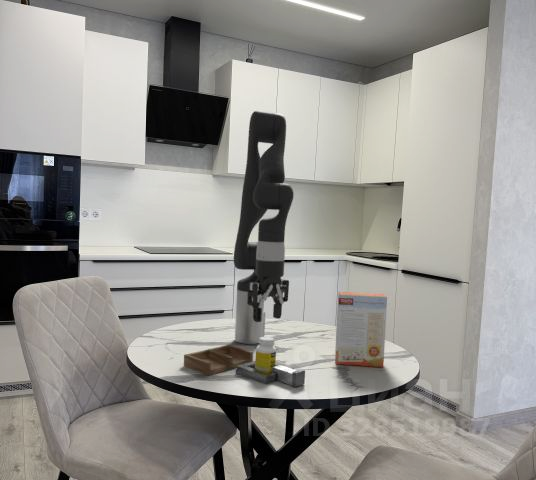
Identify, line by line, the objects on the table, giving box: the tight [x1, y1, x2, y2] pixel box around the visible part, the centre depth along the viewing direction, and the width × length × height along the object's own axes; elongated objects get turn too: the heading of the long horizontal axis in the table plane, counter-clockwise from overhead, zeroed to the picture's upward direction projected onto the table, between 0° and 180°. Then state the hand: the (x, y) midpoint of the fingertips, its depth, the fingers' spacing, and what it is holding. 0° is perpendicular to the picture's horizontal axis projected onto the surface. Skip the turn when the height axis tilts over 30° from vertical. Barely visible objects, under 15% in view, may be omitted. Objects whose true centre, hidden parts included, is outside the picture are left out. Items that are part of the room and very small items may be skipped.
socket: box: [235, 360, 295, 385], centre depth 135 cm, size 11×11×2 cm
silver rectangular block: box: [272, 365, 306, 388], centre depth 130 cm, size 4×8×4 cm, turn 48°
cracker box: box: [334, 291, 388, 368], centre depth 149 cm, size 14×6×21 cm, turn 84°
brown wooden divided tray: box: [183, 344, 254, 376], centre depth 142 cm, size 17×10×3 cm, turn 137°
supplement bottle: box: [254, 336, 277, 373], centre depth 135 cm, size 5×5×10 cm
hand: (267, 319), depth 134 cm, fingers open, 7 cm apart
